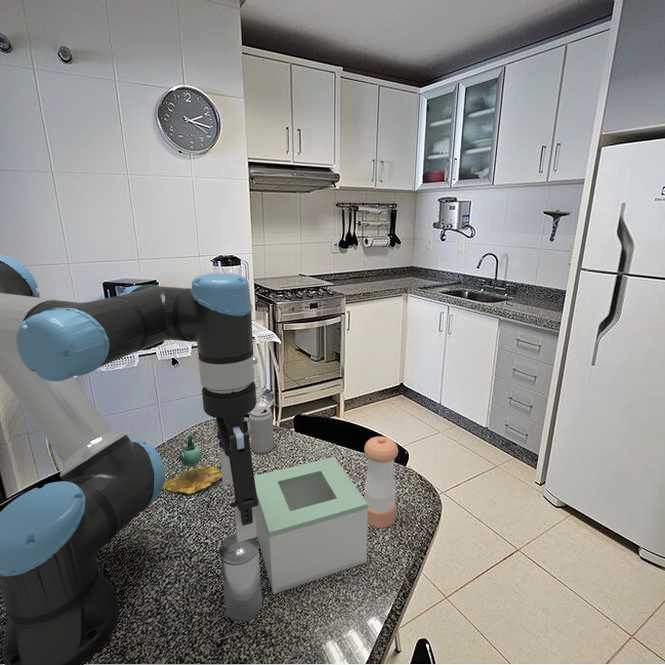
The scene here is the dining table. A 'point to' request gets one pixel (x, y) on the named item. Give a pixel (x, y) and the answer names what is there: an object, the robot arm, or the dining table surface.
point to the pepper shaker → (380, 481)
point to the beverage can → (261, 429)
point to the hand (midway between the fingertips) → (238, 507)
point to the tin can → (241, 577)
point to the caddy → (309, 523)
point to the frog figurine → (192, 471)
